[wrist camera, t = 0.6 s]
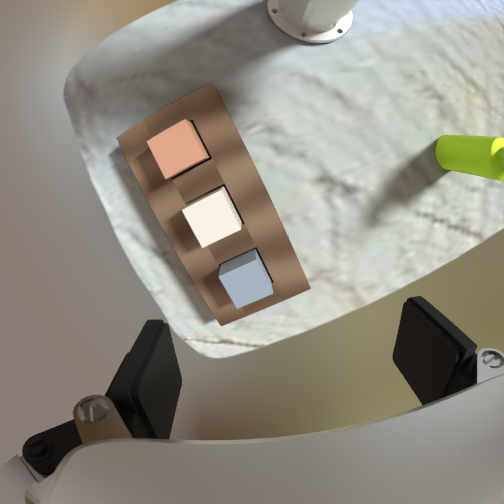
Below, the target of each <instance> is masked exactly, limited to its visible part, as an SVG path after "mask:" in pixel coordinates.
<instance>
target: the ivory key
mask: <svg viewBox="0 0 504 504" xmlns="http://www.w3.org/2000/svg"><path fill="white" fill-rule="evenodd" d="M182 211H183V213H184V215H185V217H186V219H187V221H188V223H189V225H190V226H191V228H192V230H193V232H194V234H195V236H196V237H197V239H198V241H199V243H200V245H201V247H202V248H203V247H206V246H208V245H210V244H212V243H214V242H216V241H218V240H220V239H222V238H224V237H227V236H229V235H231V234H233V233H235V232H237V231H239V230H241V223H242V221H241V219H240V217H239V215H238V213H237V211H236V209H235V207H234V205H233V203H232V201H231V199H230V197H229V195H228V193H227V191H226V189H225V187H224V186H223V187H221V188H219V189H217V190H215V191H213V192H211V193H209V194H207V195H205V196H203V197H201V198H199V199H197V200H195V201H193V202H191V203H190V204H188V205H187V206H186V207H185V208H184V209H183V210H182Z"/></svg>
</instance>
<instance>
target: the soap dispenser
mask: <svg viewBox="0 0 504 504" xmlns="http://www.w3.org/2000/svg"><path fill="white" fill-rule="evenodd" d="M435 155H436V159H437V161H438V163H439V165H440V166H441V167H442V168H444V169H446V170H451V171H457V172H462V173H467V174H472V175H477V176H481V177H486V178H490V179H495V180H499V181H504V139H503V138H501V137H488V136H463V135H444V136H441V137H440V138H439V139H438V140H437V142H436V146H435Z"/></svg>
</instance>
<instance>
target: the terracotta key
mask: <svg viewBox="0 0 504 504" xmlns="http://www.w3.org/2000/svg"><path fill="white" fill-rule="evenodd" d="M147 143H148V145H149V147H150V149H151V151H152V153H153V155H154V157H155V159H156V161H157V163H158V165H159V167H160V169H161V171H162V173H163V175H164V177H165V179H168V178H171V177H174V176H176V175H178V174H179V173H181V172H183V171H185V170H187V169H189V168H190V167H192V166H194V165H196V164H198V163H200V162H202V161H204V160H206V159H208V158H209V156H208V154H207V152H206V150H205V148H204V146H203V144H202V142H201V140H200V138H199V136H198V134H197V132H196V130H195V128H194V126H193V124H192V123H191V122H189V121H188V120H186V119H184V120H183V121H181V122H179V123H177V124H175V125H173V126H172V127H170V128H168V129H166V130H165V131H163V132H161V133H160V134H158V135H156V136H154V137H153V138H151V139H150V140H148V141H147Z"/></svg>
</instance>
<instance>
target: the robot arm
mask: <svg viewBox="0 0 504 504" xmlns="http://www.w3.org/2000/svg"><path fill="white" fill-rule="evenodd" d="M358 1H359V0H268V1H267V9H268V13H269V16H270V18H271V19H272V21H273V22H274V23H275V25H276V26H277V27H278V28H279V29H281V30H282V31H283V32H285V33H286V34H288V35H290V36H292V37H294V38H296V39H299V40H302V41H305V42H310V43H328V42H332V41H335V40H337V39H339V38H341V37H342V36H344V35H345V34H346V33H347V31H348V30H349V29H350V27H351V25H352V21H353V13H352V8H353V7H354V6H355V5H356V4H357V2H358ZM338 32H339V33H338ZM302 35H304V36H302ZM476 348H477V345H476V344H475V343H474V342H473V341H472V340H471V339H470V338H469V337H468V336H466V335H465V334H464V333H463V332H462V331H461V330H460V329H459V328H458V327H457V326H455V325H454V324H453V323H452V322H451V321H450V320H449V319H447V318H446V317H445V316H444V315H443V314H442V313H441V312H439V311H438V310H437V309H436V308H435V307H433V306H432V305H431V304H430V303H429V302H428V301H426V300H425V299H424V298H423V297H421V296H417V297H411V298H408V299H407V301H406V302H405V303H404V305H403V309H402V314H401V320H400V325H399V329H398V334H397V339H396V343H395V347H394V351H393V361H394V363H395V365H396V366H397V367H398V369H399V370H400V372H401V373H402V374H403V376H404V378H405V379H406V381H407V382H408V384H409V385H410V387H411V388H412V390H413V391H414V393H415V394H416V395H417V397H418V399H419V400H420V402H421V403H422V406H420V407H417V408H414V409H411V410H407V411H404V412H401V413H398V414H394V415H391V416H388V417H384V418H380V419H377V420H373V421H369V422H366V423H361V424H356V425H352V426H347V427H342V428H337V429H333V430H327V431H321V432H315V433H308V434H301V435H294V436H285V437H277V438H264V439H250V440H215V441H199V440H171V439H169V438H170V433H171V429H172V424H173V420H174V415H175V411H176V406H177V402H178V398H179V394H180V389H181V386H182V377H181V373H180V369H179V365H178V361H177V358H176V354H175V350H174V346H173V342H172V337H171V333H170V329H169V325H168V324H167V323H164V322H163V320H147V321H146V323H145V325H144V327H143V329H142V330H141V332H140V334H139V336H138V338H137V339H136V341H135V343H134V345H133V347H132V349H131V351H130V352H129V353H127V354H126V356H125V358H124V360H123V361H122V363H121V365H120V367H119V369H118V371H117V373H116V375H115V376H114V378H113V380H112V382H111V384H110V386H109V388H108V390H107V392H106V394H105V396H103V395H91V396H87V397H85V398H83V399H81V400H80V401H79V402H78V403H77V404H76V405H75V407H74V410H73V418H74V419H73V420H71V421H68V422H66V423H64V424H61V425H59V426H56V427H54V428H51V429H49V430H46V431H44V432H41V433H39V434H36V435H34V436H32V437H30V438H29V439H28V440H27V441H26V442H25V444H24V446H23V450H22V452H23V455H22V456H21V457H19V456H18V455H15V456H14V457H13V458H11V459H10V460H8V461H7V462H6V463H4V464H3V465H1V466H0V504H504V354H503V353H502V352H500V351H499V350H496V349H493V348H484V349H482V350H480V351H479V353H478V354H476V353H475V350H476Z"/></svg>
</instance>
